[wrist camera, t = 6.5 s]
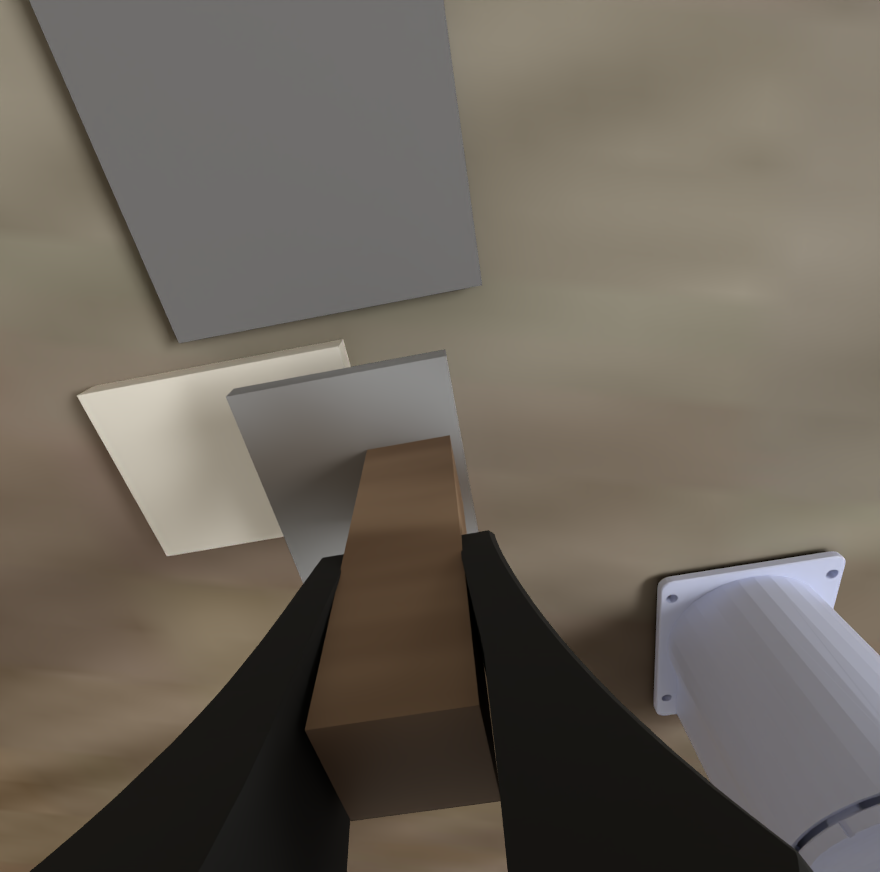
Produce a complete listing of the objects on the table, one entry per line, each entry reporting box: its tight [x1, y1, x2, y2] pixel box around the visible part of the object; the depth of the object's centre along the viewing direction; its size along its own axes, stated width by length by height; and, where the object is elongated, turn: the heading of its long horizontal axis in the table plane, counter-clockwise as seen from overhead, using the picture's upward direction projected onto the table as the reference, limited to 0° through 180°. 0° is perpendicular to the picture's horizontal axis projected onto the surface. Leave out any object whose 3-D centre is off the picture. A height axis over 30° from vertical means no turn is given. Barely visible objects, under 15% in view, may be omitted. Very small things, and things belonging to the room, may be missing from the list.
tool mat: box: [29, 0, 482, 343], centre depth 13 cm, size 10×10×1 cm
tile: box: [77, 339, 351, 556], centre depth 18 cm, size 7×1×9 cm
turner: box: [226, 350, 501, 821], centre depth 11 cm, size 7×6×9 cm
